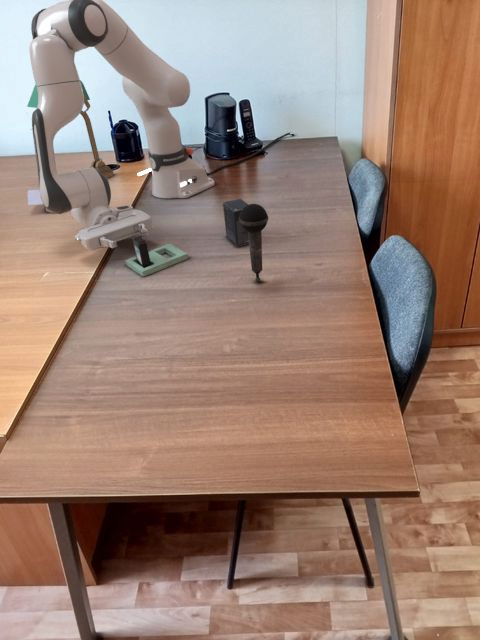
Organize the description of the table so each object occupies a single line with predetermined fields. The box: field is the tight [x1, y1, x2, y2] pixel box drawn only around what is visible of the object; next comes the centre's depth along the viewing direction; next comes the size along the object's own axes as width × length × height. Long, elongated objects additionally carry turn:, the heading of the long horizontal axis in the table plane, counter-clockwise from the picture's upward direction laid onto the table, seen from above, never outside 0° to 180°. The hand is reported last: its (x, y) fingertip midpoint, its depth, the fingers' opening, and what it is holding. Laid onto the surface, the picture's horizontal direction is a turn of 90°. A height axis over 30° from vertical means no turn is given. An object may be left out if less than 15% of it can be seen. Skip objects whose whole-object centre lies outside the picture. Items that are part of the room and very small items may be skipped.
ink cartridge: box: [131, 235, 151, 268], centre depth 139 cm, size 5×2×8 cm, turn 31°
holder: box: [125, 243, 189, 277], centre depth 143 cm, size 14×9×2 cm, turn 130°
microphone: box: [239, 203, 269, 283], centre depth 126 cm, size 7×7×20 cm
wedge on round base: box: [27, 188, 55, 214], centre depth 177 cm, size 9×7×13 cm
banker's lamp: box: [26, 79, 115, 179], centre depth 187 cm, size 16×21×35 cm
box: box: [222, 198, 249, 248], centre depth 148 cm, size 8×6×11 cm
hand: (130, 239), depth 140 cm, fingers open, 8 cm apart
